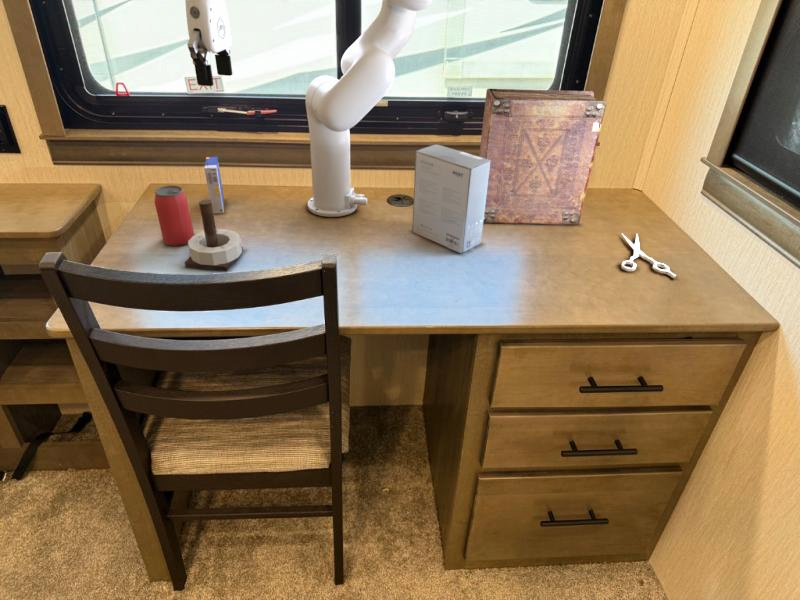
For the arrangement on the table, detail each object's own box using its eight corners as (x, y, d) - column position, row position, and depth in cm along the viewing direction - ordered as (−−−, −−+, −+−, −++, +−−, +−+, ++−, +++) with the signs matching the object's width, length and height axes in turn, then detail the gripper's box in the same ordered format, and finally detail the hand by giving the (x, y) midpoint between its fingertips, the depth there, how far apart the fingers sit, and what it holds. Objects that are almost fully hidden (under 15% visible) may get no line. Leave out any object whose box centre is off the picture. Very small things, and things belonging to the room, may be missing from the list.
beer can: (185, 248, 122) (174, 198, 115) (157, 245, 123) (145, 194, 116) (200, 235, 127) (190, 186, 121) (173, 232, 128) (163, 182, 122)
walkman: (213, 201, 143) (205, 155, 137) (224, 200, 144) (217, 155, 137) (211, 214, 137) (203, 167, 130) (223, 213, 138) (216, 166, 131)
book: (568, 209, 146) (594, 91, 129) (578, 225, 138) (608, 101, 122) (472, 207, 145) (486, 88, 128) (477, 223, 138) (493, 98, 121)
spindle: (243, 251, 122) (235, 195, 115) (226, 271, 115) (217, 213, 107) (204, 247, 123) (193, 191, 116) (185, 267, 116) (173, 209, 108)
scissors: (625, 271, 119) (606, 228, 135) (624, 274, 119) (605, 231, 135) (676, 275, 118) (651, 232, 134) (675, 278, 118) (650, 235, 135)
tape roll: (248, 243, 123) (246, 231, 121) (231, 267, 114) (229, 254, 112) (202, 239, 123) (200, 227, 122) (182, 263, 115) (180, 250, 113)
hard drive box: (482, 243, 129) (492, 160, 117) (461, 255, 124) (471, 169, 113) (431, 222, 137) (436, 142, 126) (410, 231, 133) (414, 150, 121)
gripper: (201, -8, 100) (215, 91, 109) (238, -16, 114) (248, 72, 124) (161, -10, 101) (179, 88, 110) (203, -18, 115) (215, 70, 124)
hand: (215, 80), depth 117 cm, fingers open, 9 cm apart
